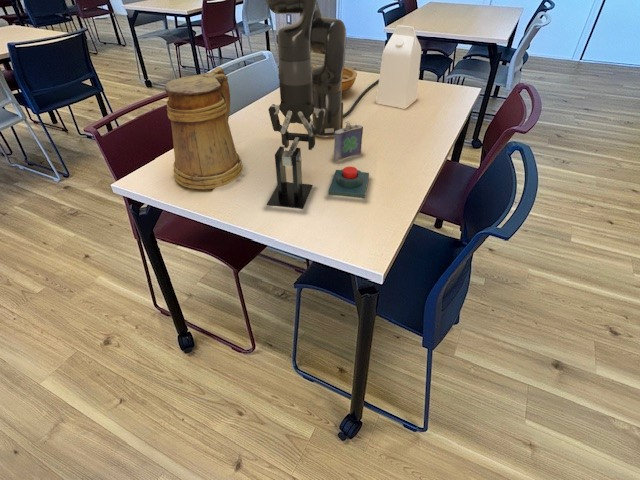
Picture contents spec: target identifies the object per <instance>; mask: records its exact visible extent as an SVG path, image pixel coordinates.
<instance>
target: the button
mask: <svg viewBox="0 0 640 480" xmlns="http://www.w3.org/2000/svg"><path fill="white" fill-rule="evenodd" d="M357 170H358V168H357V167H355V166H346V167H343V177H344V178H346V179H354V178H356V177H357Z"/></svg>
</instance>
